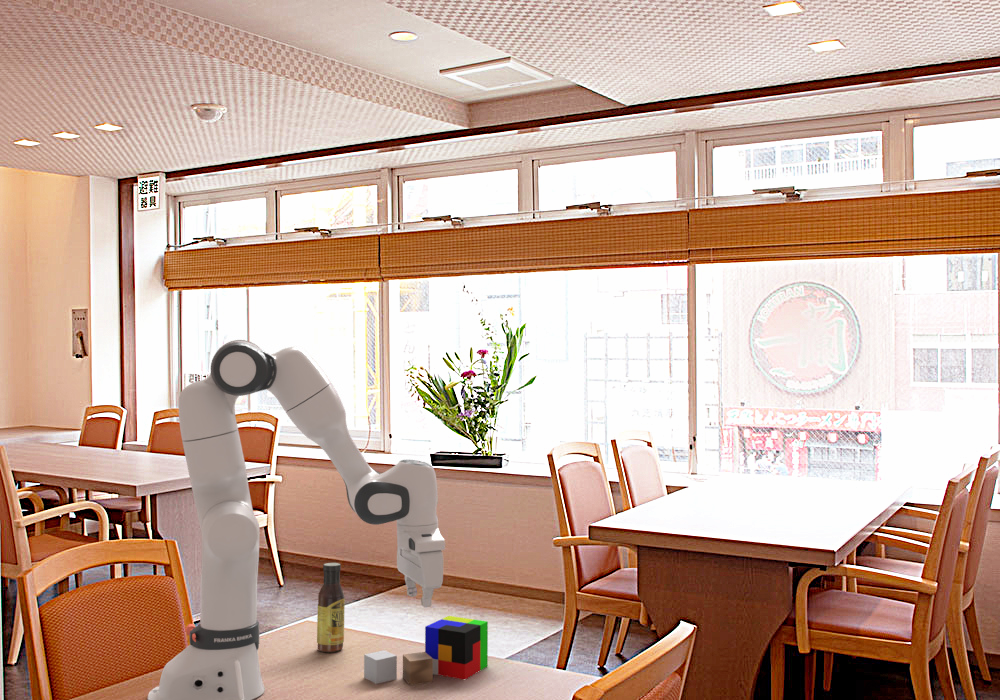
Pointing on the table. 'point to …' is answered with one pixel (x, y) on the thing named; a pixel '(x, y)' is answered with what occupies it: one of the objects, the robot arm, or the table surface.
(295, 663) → the table surface
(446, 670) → the puzzle toy
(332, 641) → the sauce bottle
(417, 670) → the walnut block
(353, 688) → the table surface
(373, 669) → the grey block
